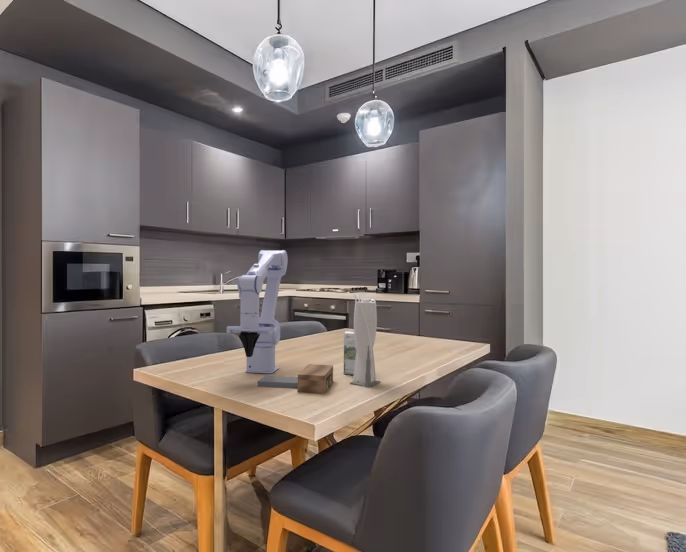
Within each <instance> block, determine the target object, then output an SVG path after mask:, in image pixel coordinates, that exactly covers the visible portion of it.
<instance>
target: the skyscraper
mask: <svg viewBox="0 0 686 552" xmlns="http://www.w3.org/2000/svg"><path fill="white" fill-rule="evenodd" d="M354 298H355V299H354V301H355V302H354V310H353V311H354V312H353V331H354V338H355V344H356V349H357V351H356V358H355V367H354V375H353V378H352V381H350V382H349V385H353V386H360V387H363V386H364V387H365V388H369V387H370V388H372V387H374V386H376V385H378V384H380V383H381V381H380V380H377V378H376V365H375V354H374V345H375V341H376V336H377V328H378V327H377V326H378V314H377V313H378V312H377V311H378V310H377V302H376V300H375V299H373V298H372V299H370V298H361V299H360V296H359V295H358V293H356V294H354ZM357 299H358V301H357ZM371 386H372V387H371ZM364 387H363V388H364Z"/></svg>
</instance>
